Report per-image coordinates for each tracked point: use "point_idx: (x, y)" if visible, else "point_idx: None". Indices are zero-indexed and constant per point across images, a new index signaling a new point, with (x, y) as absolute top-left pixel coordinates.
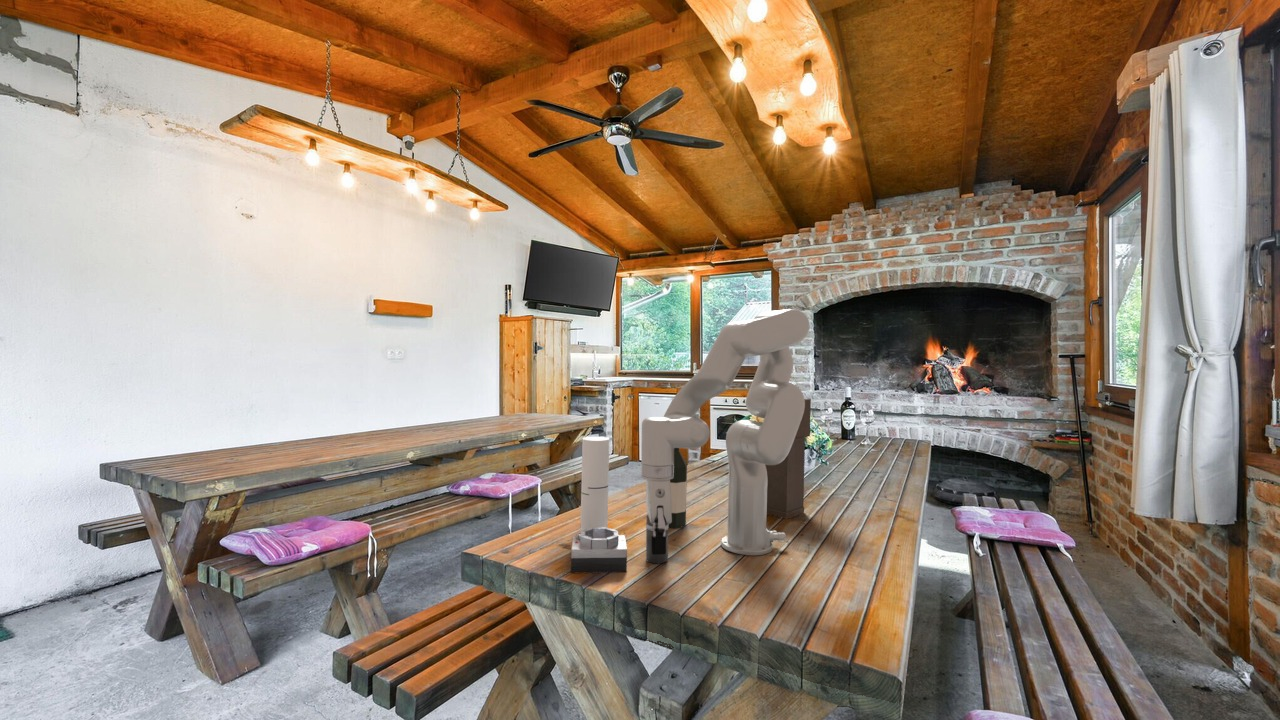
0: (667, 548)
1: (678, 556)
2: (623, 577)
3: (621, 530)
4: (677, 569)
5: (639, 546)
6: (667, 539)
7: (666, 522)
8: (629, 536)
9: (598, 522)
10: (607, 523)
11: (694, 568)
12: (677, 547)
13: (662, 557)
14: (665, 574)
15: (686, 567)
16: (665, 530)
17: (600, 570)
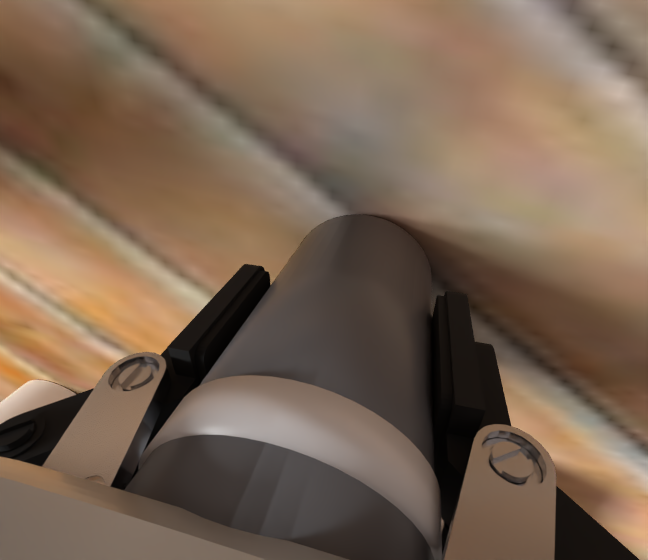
0: (387, 265)
1: (302, 113)
2: (561, 471)
3: (3, 330)
4: (565, 182)
5: (166, 310)
6: (376, 312)
7: (376, 554)
8: (56, 318)
9: None
10: (15, 413)
11: (608, 5)
12: (129, 83)
13: (430, 284)
14: (624, 288)
15: (551, 91)
16: (407, 439)
17: None
